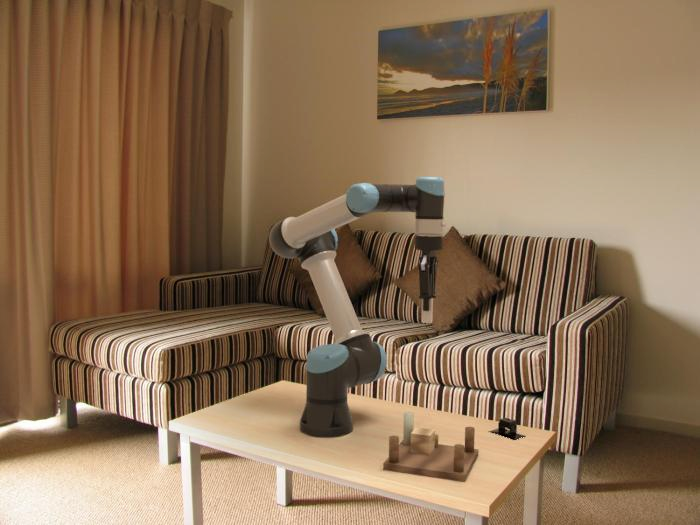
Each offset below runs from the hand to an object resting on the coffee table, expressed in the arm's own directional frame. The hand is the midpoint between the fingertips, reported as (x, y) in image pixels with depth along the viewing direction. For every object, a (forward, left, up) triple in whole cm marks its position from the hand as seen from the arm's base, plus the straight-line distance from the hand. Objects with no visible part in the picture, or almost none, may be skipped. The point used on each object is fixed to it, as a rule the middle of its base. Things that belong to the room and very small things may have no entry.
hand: (426, 322), depth 192 cm
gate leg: (0, -9, -31) cm, 32 cm away
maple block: (+3, -13, -31) cm, 34 cm away
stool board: (+6, -16, -32) cm, 37 cm away
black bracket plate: (+21, +13, -33) cm, 41 cm away
